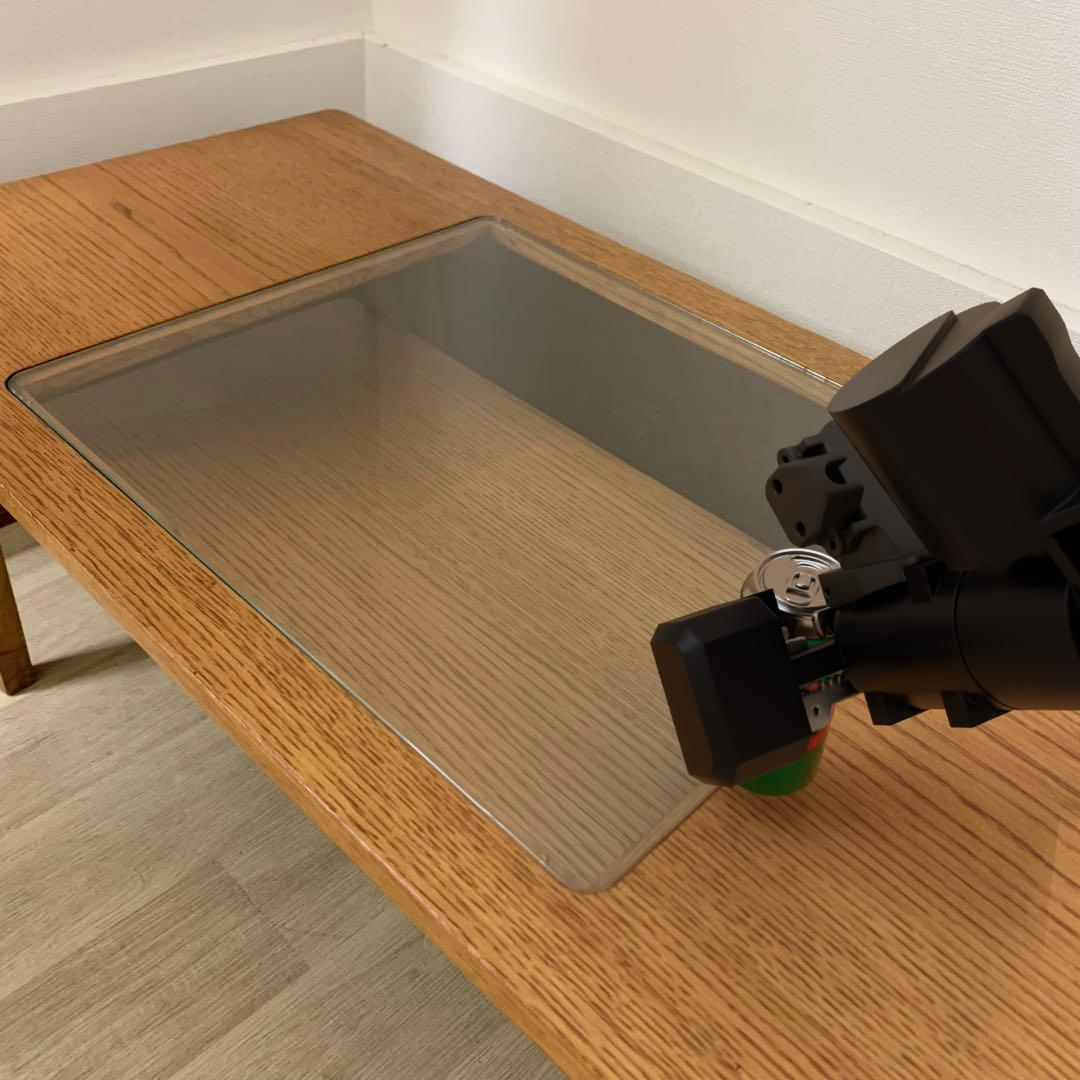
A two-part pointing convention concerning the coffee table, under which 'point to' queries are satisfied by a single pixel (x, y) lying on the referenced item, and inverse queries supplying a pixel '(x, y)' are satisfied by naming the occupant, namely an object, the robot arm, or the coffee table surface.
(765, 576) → the soda can
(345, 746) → the coffee table surface
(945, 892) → the coffee table surface
